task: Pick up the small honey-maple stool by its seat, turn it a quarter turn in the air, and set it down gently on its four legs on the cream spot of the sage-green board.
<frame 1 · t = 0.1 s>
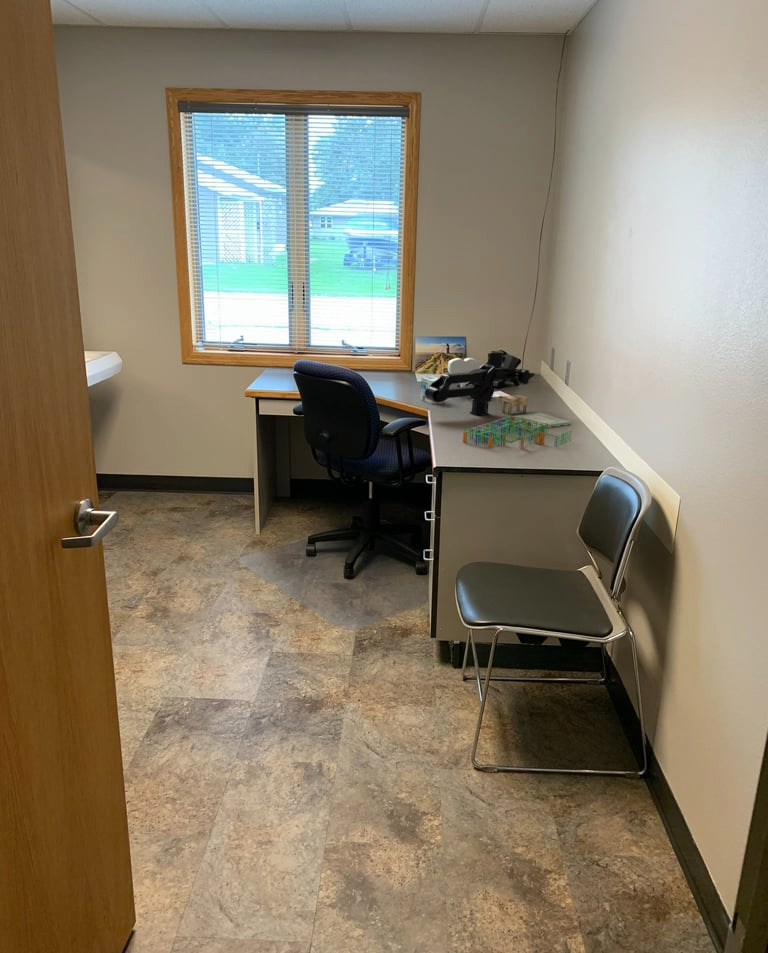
hand: (527, 372, 335), 17 cm above the table, tool horizontal, fingers open, 9 cm apart
heart sculpture: (462, 395, 364), on the table
maple stool: (513, 412, 332), on the table
house model: (518, 442, 287), on the table
sage board: (539, 421, 317), on the table
light bulb box: (431, 401, 350), on the table
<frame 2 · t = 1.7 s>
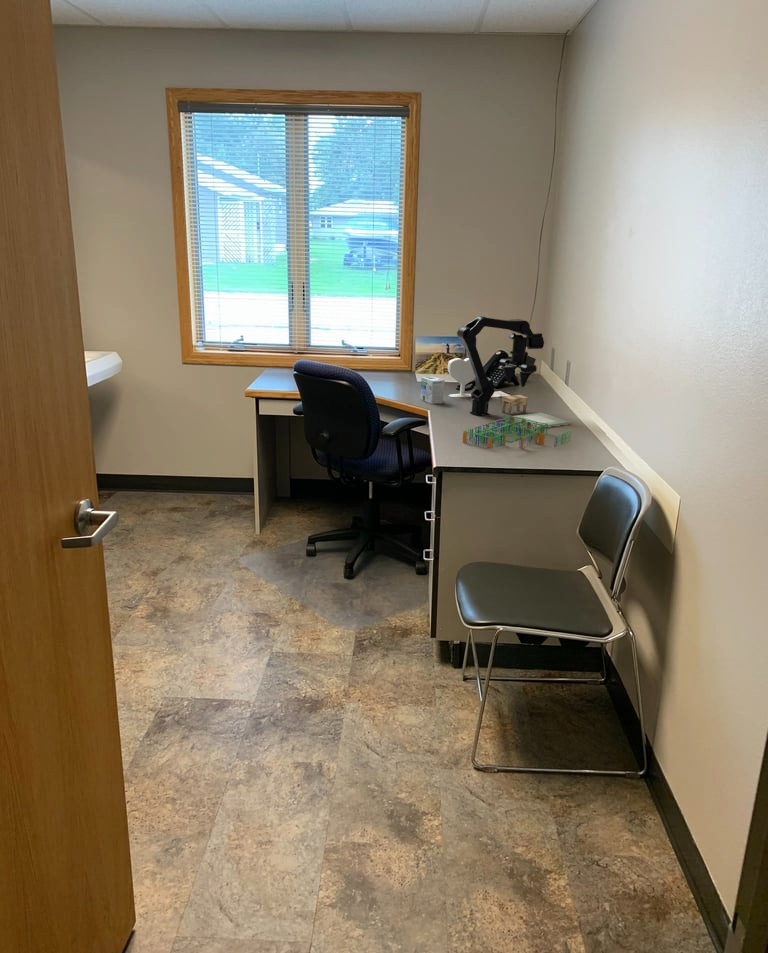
hand: (516, 384, 328), 12 cm above the table, tool pointing down, fingers open, 9 cm apart
nothing on the table moved.
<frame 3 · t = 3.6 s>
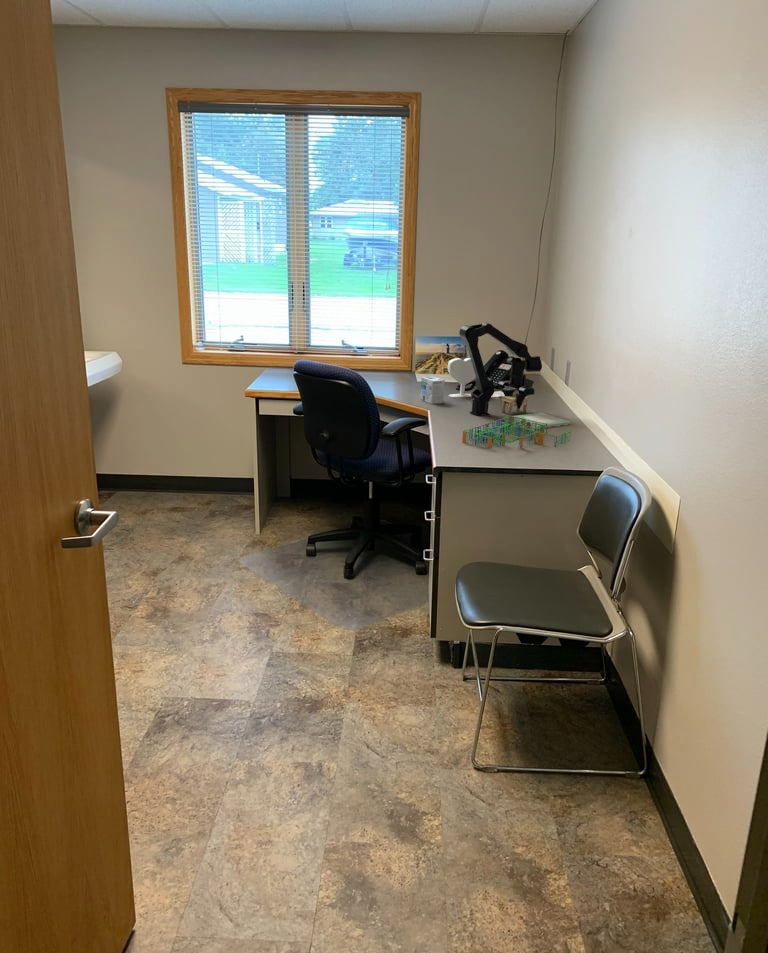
hand: (514, 407, 331), 3 cm above the table, tool pointing down, fingers closed on maple stool, 6 cm apart
maple stool: (513, 412, 332), on the table, touching gripper
everything else where it was.
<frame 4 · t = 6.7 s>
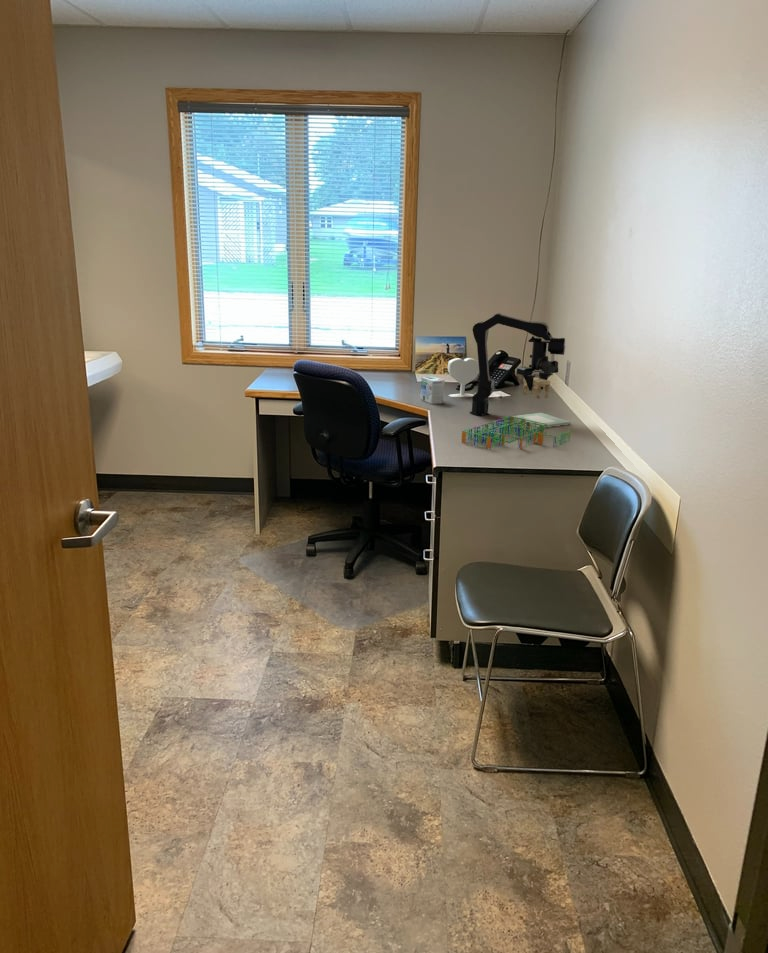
hand: (535, 390, 317), 13 cm above the table, tool pointing down, fingers closed on maple stool, 6 cm apart
maple stool: (535, 395, 317), point 10 cm above the table, touching gripper
everything else where it was.
when the fingers open (5 cm above the table, at t = 9.8 s): maple stool drops 1 cm, resting on sage board.
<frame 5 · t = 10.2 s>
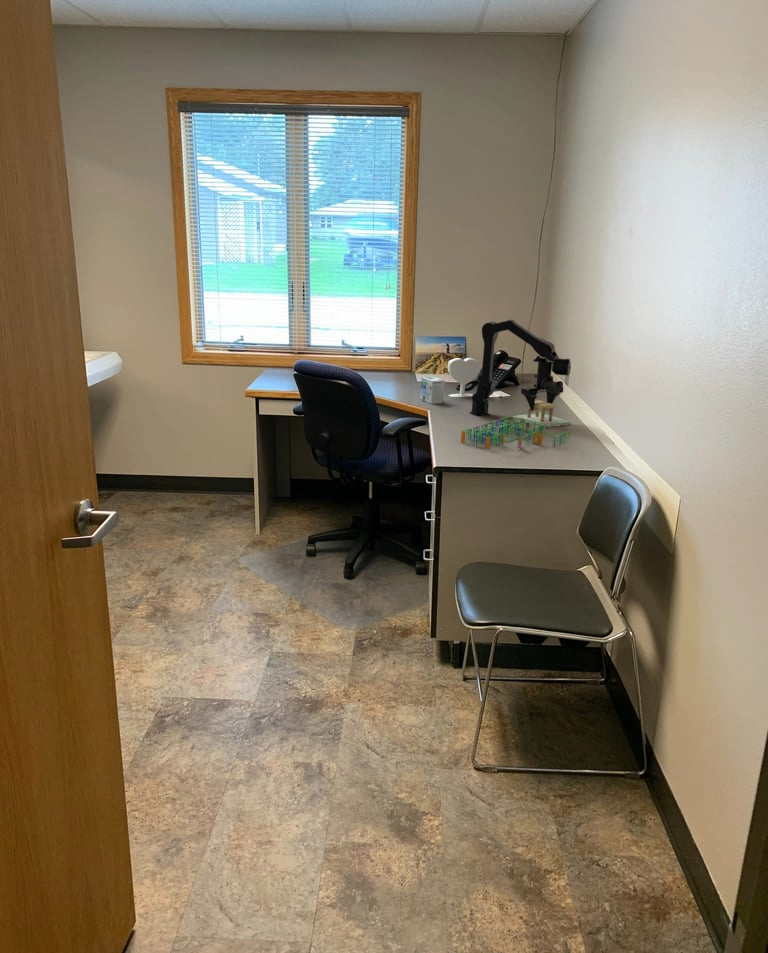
hand: (540, 409, 315), 5 cm above the table, tool pointing down, fingers open, 9 cm apart
maple stool: (539, 419, 316), point 1 cm above the table, touching sage board
everything else where it was.
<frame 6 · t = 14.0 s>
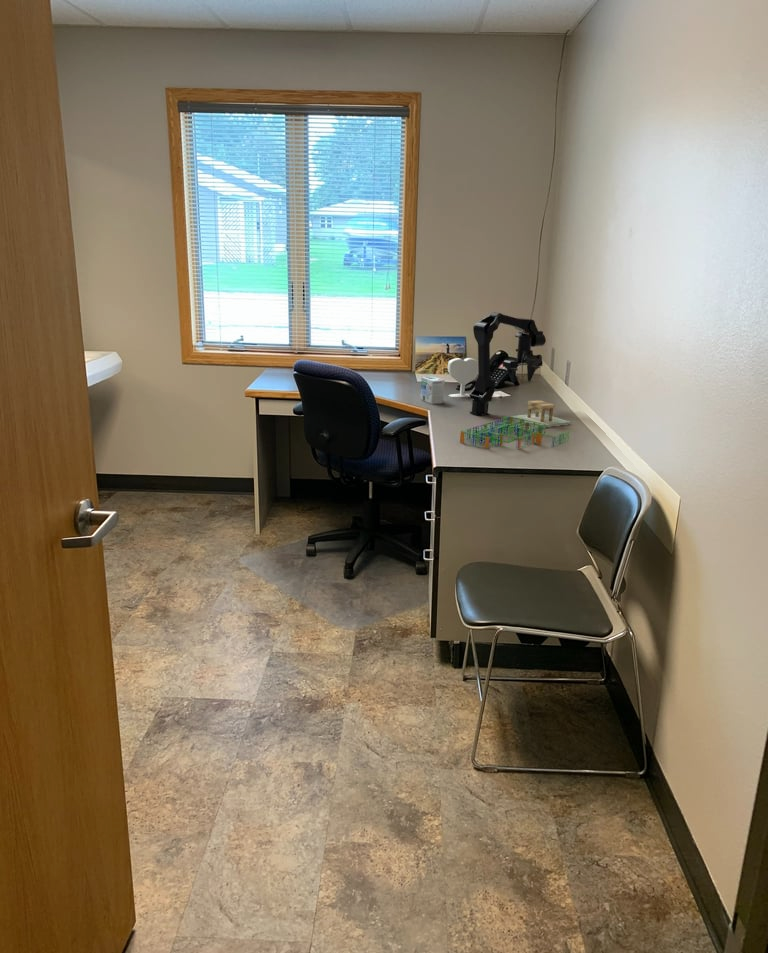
hand: (521, 382, 337), 12 cm above the table, tool pointing down, fingers open, 9 cm apart
at the end: maple stool 0.0 cm off-centre on the sage board, point 1.2 cm above the sage board's base; maple stool tilted 0°; the gripper is holding nothing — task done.
